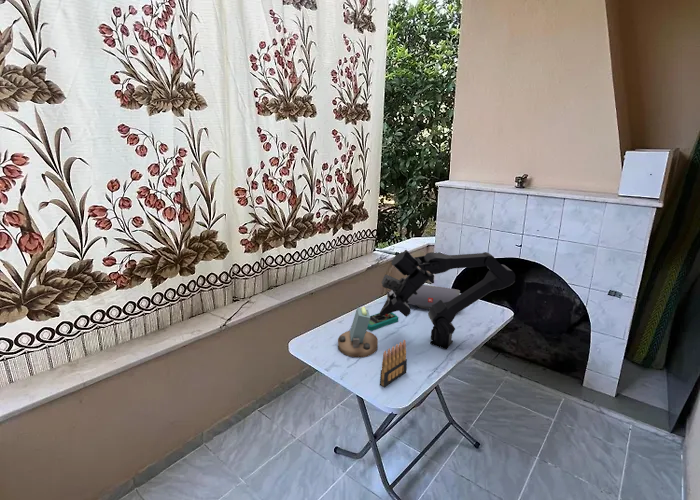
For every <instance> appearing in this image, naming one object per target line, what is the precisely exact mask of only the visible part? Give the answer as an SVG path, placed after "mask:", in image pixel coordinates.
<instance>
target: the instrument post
mask: <svg viewBox="0 0 700 500" xmlns="http://www.w3.org/2000/svg"><path fill="white" fill-rule="evenodd" d="M370 316H371V315H370V312H369V309H366V306H362V307H357V308H356V311H355V314H354V317H353V320H352V323H351V326H350V327H351V328H350V330H349V331H350V337H351V341H353V338H359V343H363V339H364V336H365V333H366V331H367V330H368V329H367V327H368V324H369V320H370Z"/></svg>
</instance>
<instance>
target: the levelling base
mask: <svg viewBox="0 0 700 500" xmlns="http://www.w3.org/2000/svg"><path fill="white" fill-rule="evenodd" d="M337 348H338V350H339V352H340V353H342V354H343V355H345V356H346V357H351V358H359V359H361V358H366V357H370V356H372V355H374V354H376V352H377V351H378V348H379V339H378V337H377V336H376V334H374V333H372V331H369V330H368V331H367V330H366V333H365V336H364V339H363V343H359V338H353V341H351V337H350V330H348V331H345V332H342V333H341V334H340V335H339V337H338V338H337Z"/></svg>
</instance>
